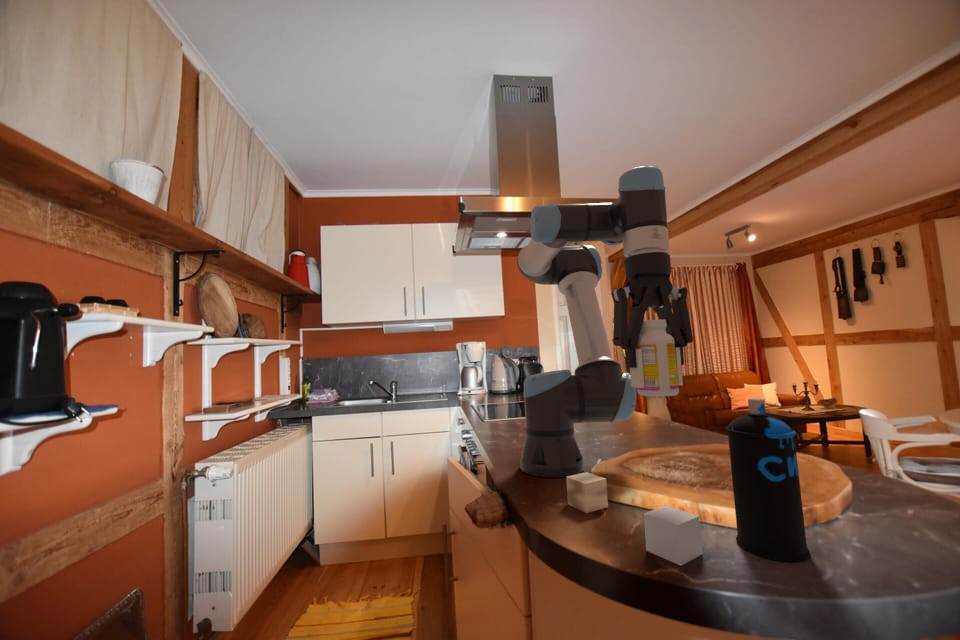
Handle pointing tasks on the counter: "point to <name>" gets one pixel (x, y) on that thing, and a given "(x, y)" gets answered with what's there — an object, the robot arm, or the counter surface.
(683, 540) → the grey block
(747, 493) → the aerosol can
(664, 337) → the supplement bottle
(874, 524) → the counter surface
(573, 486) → the birch block
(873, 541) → the counter surface
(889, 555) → the counter surface
